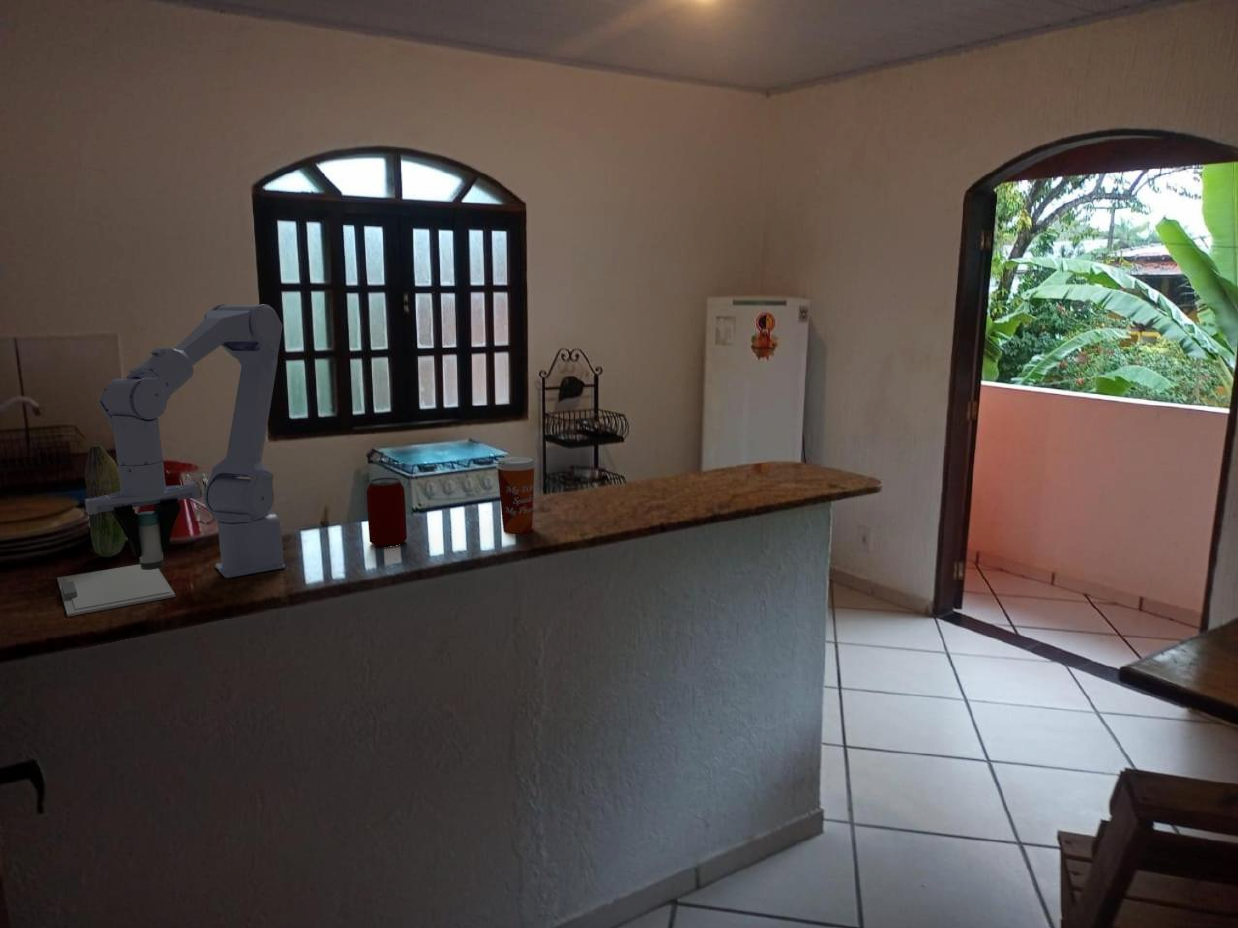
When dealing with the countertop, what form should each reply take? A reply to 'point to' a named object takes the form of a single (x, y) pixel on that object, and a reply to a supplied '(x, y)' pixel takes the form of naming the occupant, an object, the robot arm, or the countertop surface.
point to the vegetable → (100, 483)
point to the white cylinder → (150, 540)
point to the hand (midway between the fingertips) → (151, 553)
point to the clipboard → (112, 589)
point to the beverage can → (386, 512)
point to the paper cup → (516, 493)
